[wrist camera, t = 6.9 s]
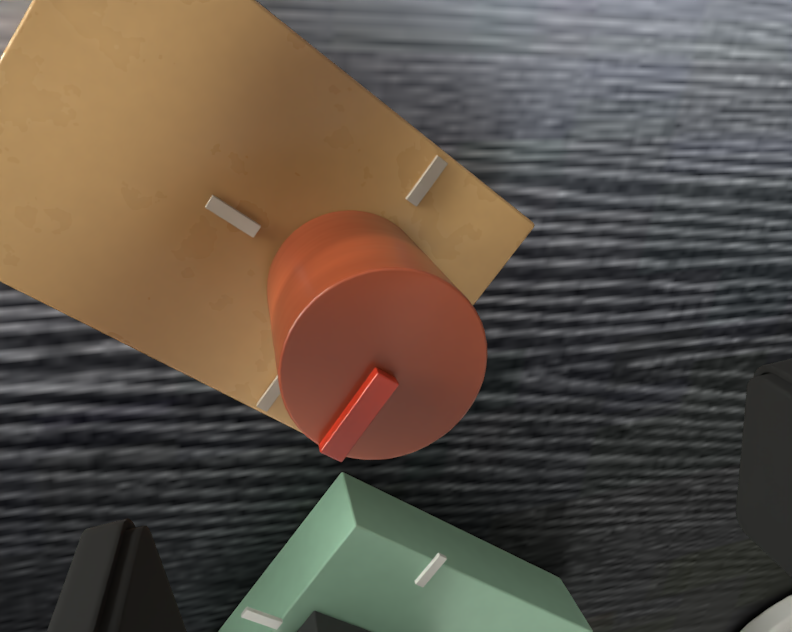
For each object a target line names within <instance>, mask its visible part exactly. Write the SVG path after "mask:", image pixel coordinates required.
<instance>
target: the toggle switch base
mask: <svg viewBox="0 0 792 632" xmlns="http://www.w3.org/2000/svg"><path fill="white" fill-rule="evenodd" d="M313 611H317V612H320V613H322V614H325V615H328V616H331V617H333V618H336V619H339V620H341V621H344V622H347V623H349V624H352V625H355V626H357V627H360V628H363V629H366V630H368V631H371V632H593V631H592V629H591V627H590V626H589V624H588V622H587V621H586V619H585V618H584V616H583V614H582V613H581V611H580V610H579V608H578V606H577V605H576V603H575V601H574V600H573V598H572V597H571V595H570V593H569V592H568V590H567V589H566V587H565V585H564V584H563V582H562V580H561V579H560V578H559V577H557V576H555V575H553V574H551V573H549V572H547V571H545V570H543V569H541V568H539V567H537V566H534V565H532V564H530V563H528V562H526V561H524V560H522V559H520V558H518V557H516V556H514V555H512V554H510V553H508V552H506V551H504V550H502V549H500V548H498V547H496V546H493V545H491V544H489V543H487V542H485V541H483V540H481V539H479V538H477V537H475V536H473V535H471V534H469V533H467V532H465V531H463V530H461V529H459V528H457V527H454V526H452V525H450V524H448V523H446V522H444V521H442V520H440V519H438V518H436V517H434V516H432V515H430V514H428V513H426V512H424V511H422V510H420V509H418V508H416V507H413V506H411V505H409V504H407V503H405V502H403V501H401V500H399V499H397V498H395V497H393V496H391V495H389V494H387V493H385V492H383V491H381V490H379V489H377V488H374V487H372V486H370V485H368V484H366V483H364V482H362V481H360V480H358V479H356V478H354V477H352V476H350V475H348V474H346V473H344V472H341V473H340V475H339V476H338V477H337V479H336V480H335V481H334V482H333V484H332V485H331V486H330V488H329V489H328V490H327V492H326V493H325V494H324V495H323V497H322V498H321V499H320V501H319V502H318V503H317V504H316V506H315V507H314V508H313V510H312V511H311V512H310V513H309V515H308V516H307V517H306V519H305V520H304V521H303V522H302V524H301V525H300V526H299V528H298V529H297V530H296V532H295V533H294V534H293V535H292V537H291V538H290V539H289V541H288V542H287V543H286V544H285V546H284V547H283V548H282V550H281V551H280V552H279V553H278V555H277V556H276V557H275V559H274V560H273V561H272V563H271V564H270V565H269V566H268V568H267V569H266V570H265V572H264V573H263V574H262V575H261V577H260V578H259V579H258V581H257V582H256V583H255V584H254V586H253V587H252V588H251V590H250V591H249V592H248V594H247V595H246V596H245V597H244V599H243V600H242V601H241V603H240V604H239V605H238V606H237V608H236V609H235V610H234V612H233V613H232V614H231V615H230V617H229V618H228V619H227V621H226V622H225V623H224V625H223V626H222V627H221V628H220V630H219V631H218V632H297V631H298V630H299V628H300V627H301V626H302V625H303V623H304V622H305V621H306V620H307V618H308V617H309V616H310V615H311V613H312V612H313Z"/></svg>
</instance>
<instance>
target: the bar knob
mask: <svg viewBox="0 0 792 632" xmlns="http://www.w3.org/2000/svg"><path fill="white" fill-rule="evenodd" d="M297 632H371V631H368V630H366V629H363V628H360V627H357V626H355V625H352V624H349V623H347V622H344V621H341V620H339V619H336V618H333V617H331V616H328V615H325V614H322V613H320V612H317V611H313V612H312V613H311V615H310V616H309V617H308V618H307V620H306V621H305V622H304V623H303V625H302V626H301V627H300V628H299V630H298V631H297Z"/></svg>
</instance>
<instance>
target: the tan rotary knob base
mask: <svg viewBox="0 0 792 632" xmlns="http://www.w3.org/2000/svg"><path fill="white" fill-rule="evenodd" d="M345 210H356V211H364V212H369V213H373V214H376V215H379V216H381V217H383V218H386V219H387V220H389V221H391V222H393V223H394V224H396V225H397V226H398V227H399V228H401V229H402V230H403V231H404V232H405V233H406V234H407V235H408V236H409V237H410V238H411V239H412V240H413V241H414V242H415V244H416V245H417V246H418V247H419V248H420V249H421V250H422V251H423V252H424V253H425V254H426V255H427V256H428V257H429V258H430V259H431V260H432V262H433V263H434V264H435V265H436V266H437V267H438V268H439V269H440V270H441V271H442V272H443V273H444V274H445V275H446V276H447V277H448V278H449V280H450V281H451V282H452V283H453V284H454V285H455V286H456V287H457V288H458V289H459V290H460V291H461V292H462V293H463V294H464V295H465V296H466V297H467V299H468V300H469V301H470V302H471V304H472V305H474V304H475V302H476V301H477V300H478V299H479V297H480V296H481V295H482V293H483V292H484V291H485V289H486V288H487V287H488V286H489V284H490V283H491V282H492V280H493V279H494V278H495V277H496V275H497V274H498V273H499V271H500V270H501V269H502V268H503V266H504V265H505V264H506V262H507V261H508V260H509V259H510V257H511V256H512V255H513V253H514V252H515V251H516V250H517V248H518V247H519V246H520V244H521V243H522V242H523V240H524V239H525V238H526V237H527V235H528V234H529V233H530V231H531V230H532V229H533V228H534V223H533V222H532V221H531V220H529V219H528V218H527V217H526V216H524V215H523V214H522V213H521V212H519V211H518V210H517V209H516V208H514V207H513V206H512V205H511V204H509V203H508V202H507V201H506V200H504V199H503V198H502V197H501V196H499V195H498V194H497V193H496V192H494V191H493V190H492V189H491V188H489V187H488V186H487V185H486V184H484V183H483V182H482V181H481V180H479V179H478V178H477V177H476V176H474V175H473V174H472V173H471V172H469V171H468V170H467V169H466V168H464V167H463V166H462V165H461V164H459V163H458V162H457V161H456V160H454V159H453V158H452V157H451V156H449V155H448V154H447V153H446V152H444V151H443V150H442V149H441V148H439V147H438V146H437V145H436V144H434V143H433V142H432V141H431V140H429V139H428V138H427V137H426V136H424V135H423V134H422V133H421V132H419V131H418V130H417V129H416V128H414V127H413V126H412V125H411V124H410V123H408V122H407V121H406V120H405V119H403V118H402V117H401V116H400V115H398V114H397V113H396V112H395V111H393V110H392V109H391V108H390V107H388V106H387V105H386V104H385V103H383V102H382V101H381V100H380V99H378V98H377V97H376V96H375V95H373V94H372V93H371V92H370V91H368V90H367V89H366V88H365V87H363V86H362V85H361V84H360V83H358V82H357V81H356V80H355V79H353V78H352V77H351V76H350V75H348V74H347V73H346V72H345V71H343V70H342V69H341V68H340V67H338V66H337V65H336V64H335V63H333V62H332V61H331V60H330V59H328V58H327V57H326V56H325V55H323V54H322V53H321V52H320V51H318V50H317V49H316V48H315V47H313V46H312V45H311V44H310V43H308V42H307V41H306V40H305V39H303V38H302V37H301V36H300V35H298V34H297V33H296V32H295V31H293V30H292V29H291V28H290V27H288V26H287V25H286V24H285V23H283V22H282V21H281V20H280V19H278V18H277V17H276V16H275V15H273V14H272V13H271V12H270V11H268V10H267V9H266V8H265V7H263V6H262V5H261V4H260V3H258V2H257V1H256V0H33V1H32V2H31V4H30V6H29V8H28V10H27V11H26V13H25V15H24V17H23V18H22V20H21V22H20V24H19V26H18V27H17V29H16V31H15V33H14V34H13V36H12V38H11V40H10V42H9V43H8V45H7V47H6V49H5V51H4V52H3V54H2V56H1V58H0V281H1V282H3V283H5V284H7V285H9V286H11V287H12V288H14V289H16V290H18V291H20V292H22V293H24V294H26V295H28V296H30V297H32V298H34V299H36V300H38V301H40V302H42V303H44V304H46V305H48V306H50V307H52V308H54V309H56V310H58V311H60V312H62V313H64V314H66V315H68V316H70V317H72V318H74V319H76V320H78V321H80V322H82V323H84V324H86V325H88V326H90V327H92V328H94V329H96V330H98V331H100V332H102V333H104V334H106V335H108V336H110V337H112V338H114V339H116V340H118V341H120V342H122V343H124V344H126V345H128V346H130V347H132V348H134V349H136V350H138V351H140V352H142V353H144V354H146V355H148V356H150V357H152V358H154V359H156V360H158V361H160V362H162V363H164V364H166V365H168V366H170V367H172V368H174V369H176V370H178V371H180V372H182V373H184V374H186V375H188V376H190V377H192V378H194V379H196V380H198V381H200V382H202V383H204V384H206V385H208V386H210V387H212V388H214V389H216V390H218V391H220V392H222V393H224V394H226V395H228V396H230V397H232V398H234V399H236V400H238V401H240V402H242V403H244V404H246V405H248V406H250V407H252V408H254V409H256V410H257V411H259V412H261V413H263V414H265V415H267V416H269V417H271V418H273V419H275V420H277V421H279V422H281V423H283V424H285V425H287V426H289V427H291V428H293V429H295V430H297V431H299V432H301V433H303V432H302V431H301V430H300V429H299V428H298V427H297V426H296V425H295V423H294V422H293V420H292V419H291V418H290V416H289V414H288V412H287V410H286V408H285V406H284V403H283V400H282V397H281V393H280V388H279V383H278V375H277V368H276V360H275V353H274V346H273V338H272V331H271V324H270V316H269V309H268V301H267V279H268V274H269V270H270V267H271V264H272V262H273V259H274V257H275V255H276V253H277V252H278V250H279V248H280V247H281V245H282V244H283V243H284V241H285V240H286V239H287V238H288V237H289V236H290V235H291V234H292V233H293V232H294V231H295V230H297V229H298V228H299V227H300V226H302V225H303V224H305V223H307V222H308V221H310V220H312V219H314V218H316V217H319V216H321V215H324V214H328V213H331V212H337V211H345ZM303 434H304V433H303Z"/></svg>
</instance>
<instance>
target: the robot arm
mask: <svg viewBox="0 0 792 632" xmlns="http://www.w3.org/2000/svg"><path fill="white" fill-rule="evenodd" d="M736 516H737V520H738V523H739V525H740V527H741V528H742V530H743V532H744V533H745V534H746V535H747V536H748V537H749V538H750V539H751V540H752V541H753V542H754V543H755V544H756V545H758V546H759V547H760V548H761V549H762V550H763V551H764V552H765V553H766V554H767V555H768V556H769V557H770V558H771V559H772V560H773V561H774V562H776V563H777V564H778V565H779V566H780V567H781V568H782V569H783V570H784V571H785V572H786V573H787V574H788V575H789V576H790V577H791V578H792V359H788V360H784V361H780V362H776V363H772V364H768V365H763V366H761V367H759V368H758V369H757V370H756V372H755V373H754V377H753V378H752V379H750V381H749V382H748V385H747V393H746V404H745V415H744V426H743V437H742V448H741V459H740V470H739V481H738V493H737V504H736ZM47 632H187V631H186V628H185V626H184V623H183V620H182V617H181V615H180V612H179V609H178V606H177V604H176V601H175V598H174V595H173V593H172V590H171V587H170V584H169V581H168V579H167V576H166V573H165V570H164V568H163V565H162V562H161V559H160V557H159V554H158V551H157V548H156V545H155V543H154V540H153V537H152V534H151V532H150V530H149V528H148V527H147V526H141V527H137V528H136V527H135V525H134V523H133V522H132V521H131V520H130V519H125V520H120V521H116V522H112V523H108V524H104V525H100V526H96V527H91V528H87V529H86V530H84V532H83V534H82V535H81V538H80V541H79V544H78V546H77V549H76V552H75V555H74V557H73V560H72V563H71V566H70V569H69V571H68V574H67V577H66V580H65V582H64V585H63V588H62V591H61V594H60V596H59V599H58V602H57V605H56V607H55V610H54V613H53V616H52V619H51V621H50V624H49V627H48V630H47ZM740 632H792V595H790V596H788V597H786V598H784V599H783V600H781V601H779V602H778V603H776V604H774V605H773V606H771V607H769V608H768V609H766V610H765V611H764V612H762V613H761V614H760V615H758V616H757V617H756V618H754V619H753V620H752V621H751V622H749V623H748V624H747V625H746V626H745V627H744V628H743V629H742V630H741V631H740Z"/></svg>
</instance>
